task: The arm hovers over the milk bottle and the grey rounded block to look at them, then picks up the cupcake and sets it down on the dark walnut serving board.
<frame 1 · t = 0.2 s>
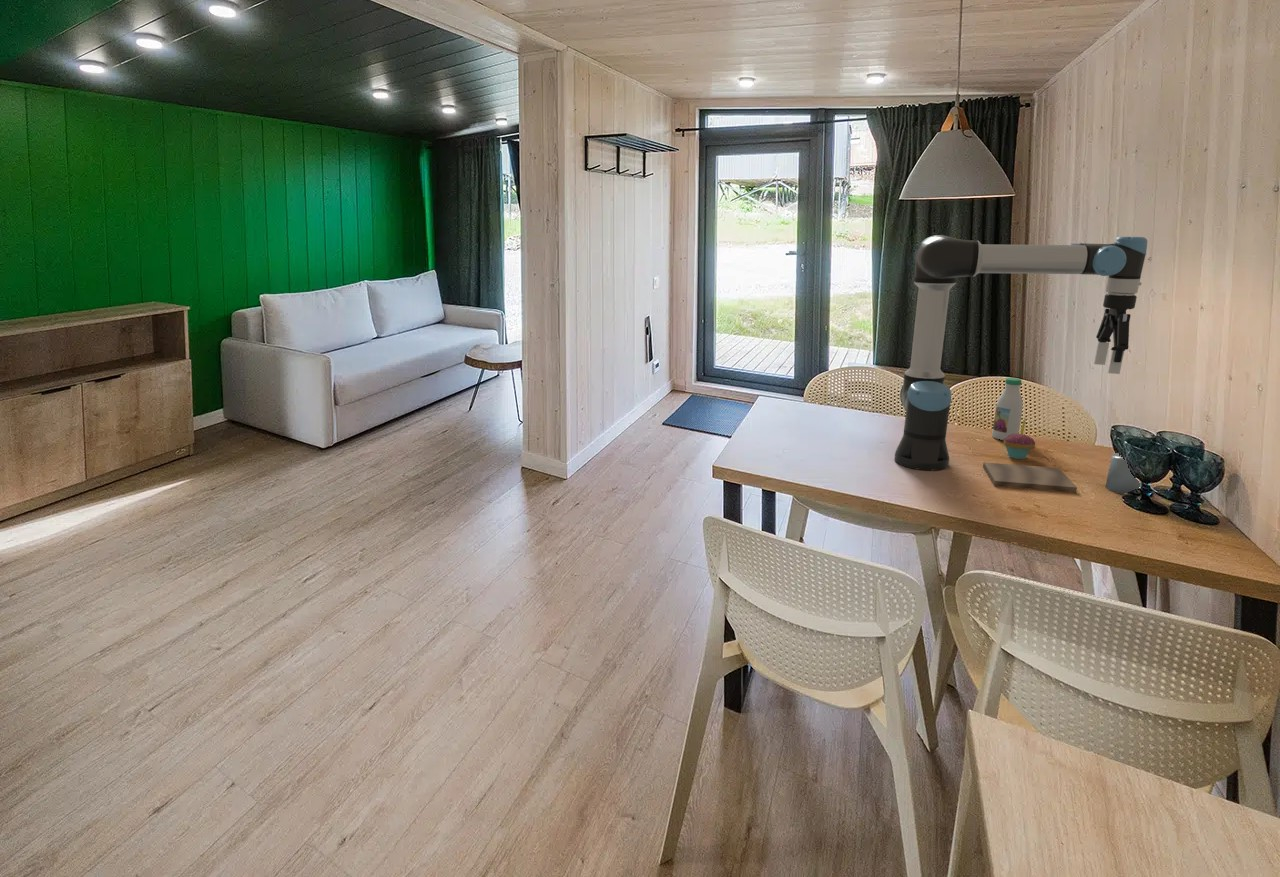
hand: (1106, 368, 207), 28 cm above the table, tool pointing down, fingers open, 13 cm apart
cupcake: (1017, 457, 220), on the table
walnut board: (1027, 479, 201), on the table
grey rounded block: (1122, 489, 193), on the table
milk bottle: (1004, 438, 238), on the table
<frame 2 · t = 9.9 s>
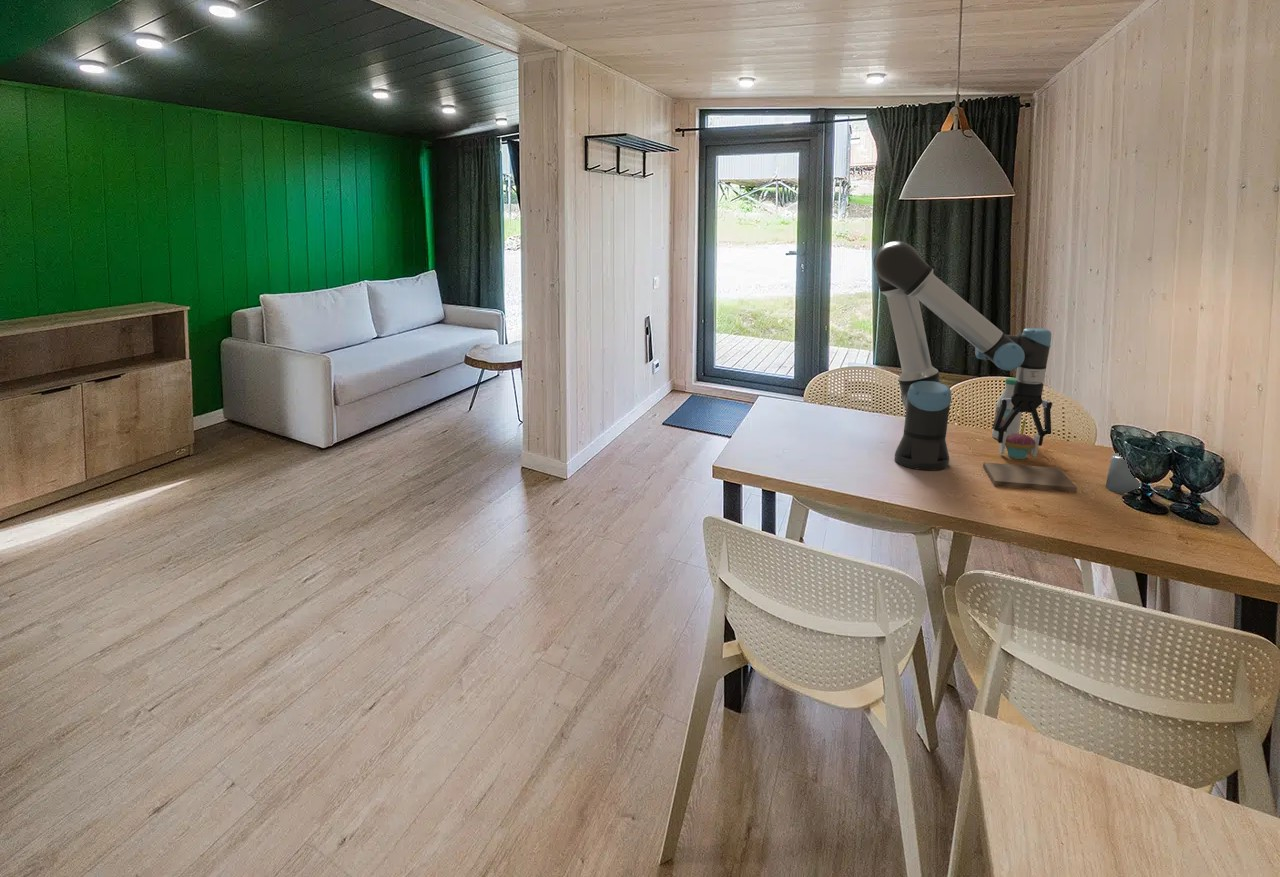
hand: (1017, 454, 219), 1 cm above the table, tool pointing down, fingers closed on cupcake, 8 cm apart
cupcake: (1017, 457, 220), on the table, touching gripper
everything else where it was.
when the fingers open (4 cm above the table, at t = 16.7 s): cupcake drops 1 cm, resting on walnut board.
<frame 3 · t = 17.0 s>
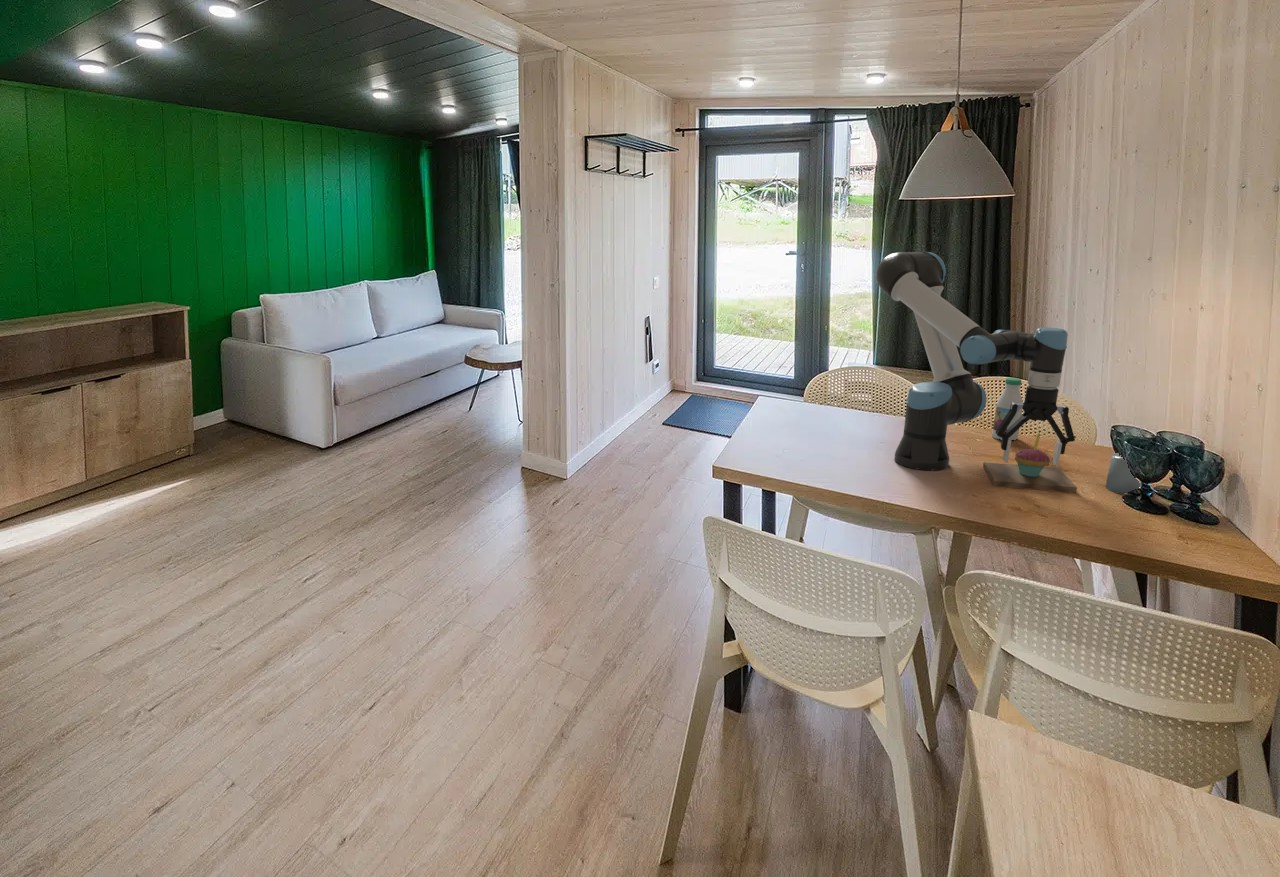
hand: (1029, 462, 199), 5 cm above the table, tool pointing down, fingers open, 12 cm apart
cupcake: (1029, 474, 200), point 1 cm above the table, touching walnut board
everything else where it was.
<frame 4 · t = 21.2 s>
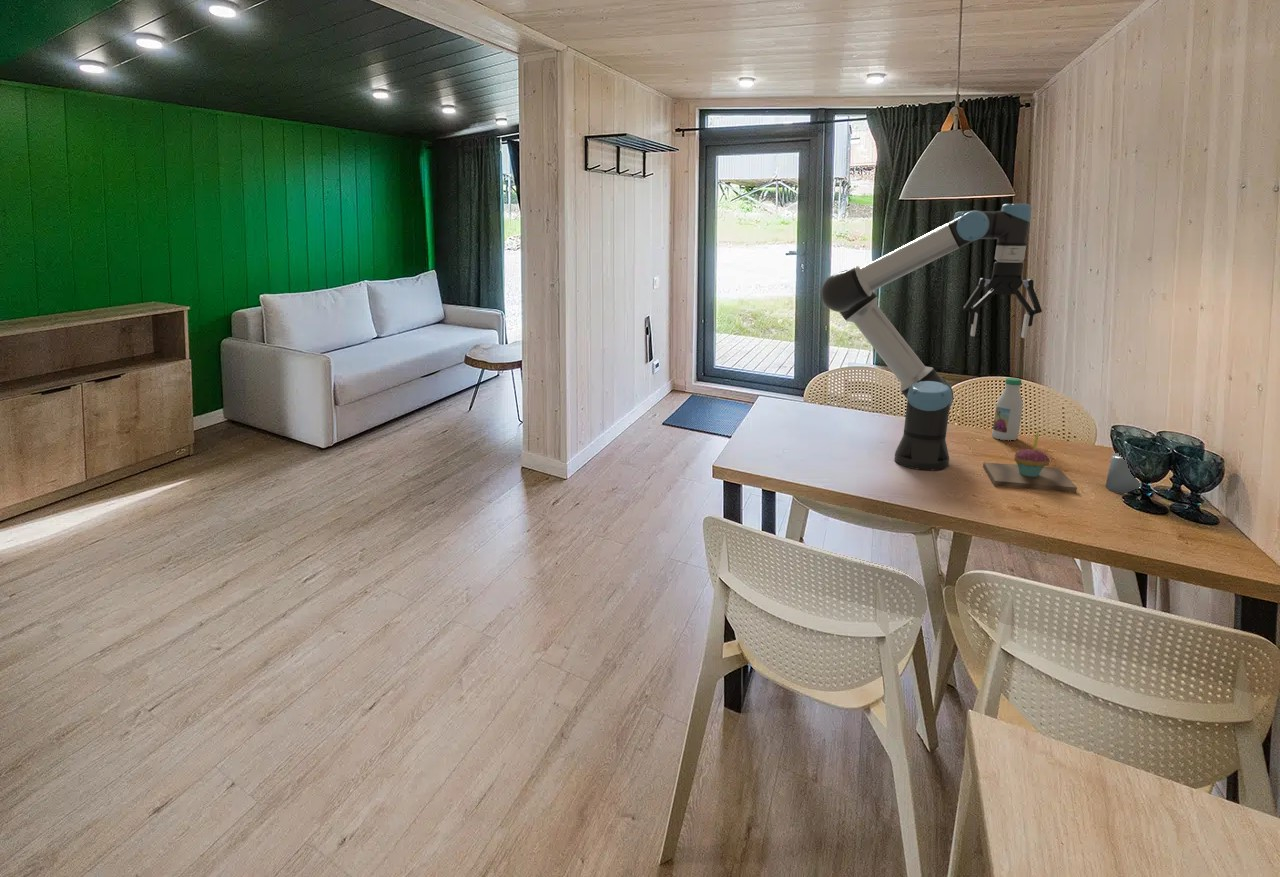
hand: (997, 336, 209), 37 cm above the table, tool pointing down, fingers open, 13 cm apart
nothing on the table moved.
at the end: cupcake inside the target area on the walnut board (0.3 cm from its centre), point 1.3 cm above the walnut board's base; cupcake tilted 0°; the gripper is holding nothing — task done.
